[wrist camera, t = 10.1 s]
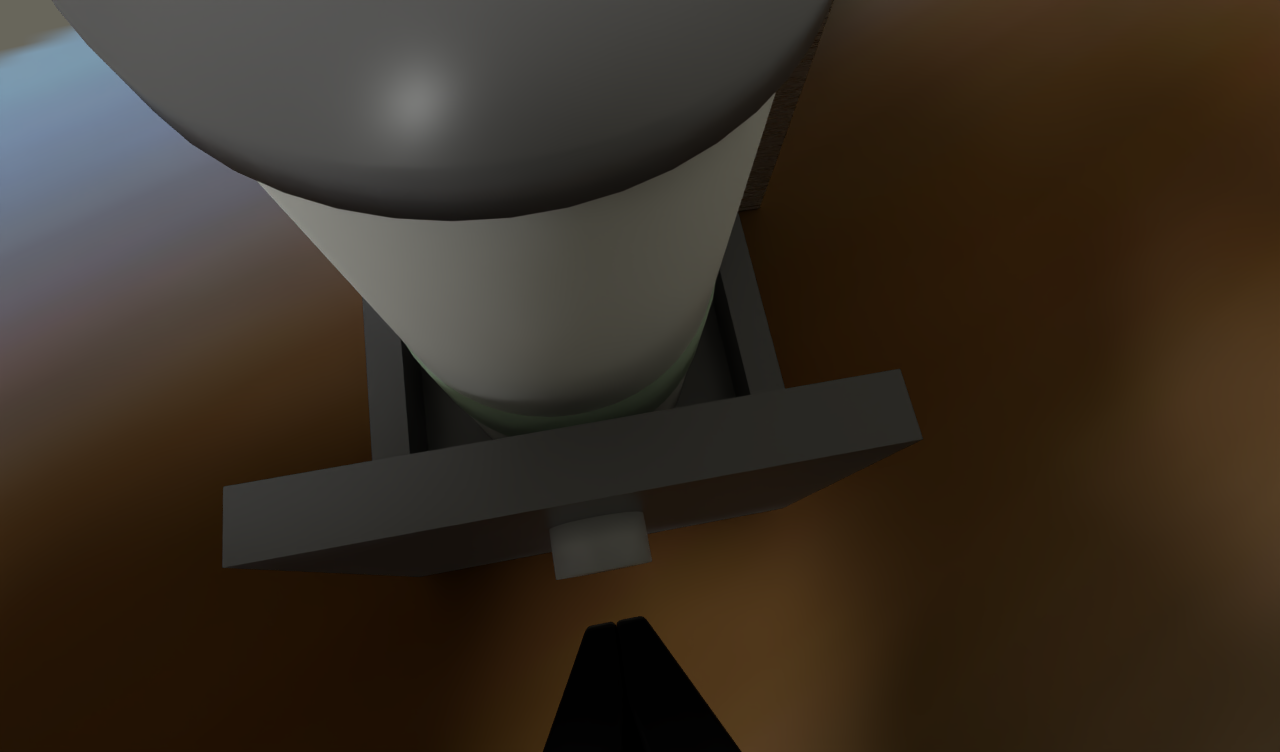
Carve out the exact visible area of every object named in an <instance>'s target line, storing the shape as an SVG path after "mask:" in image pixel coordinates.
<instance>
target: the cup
mask: <svg viewBox="0 0 1280 752" xmlns="http://www.w3.org/2000/svg"><path fill="white" fill-rule="evenodd" d="M52 1H53V3H54V4H55V6H56V8H57V9H58V10H59V11H60V12H61V14H62V15H63V16H64V17H65V18H66V20H67V21H68V22H69V23H70V24H71V26H72V27H73V28H74V29H75V30H76V32H77V33H78V34H79V35H80V36H81V38H82V39H83V40H84V41H85V42H86V44H87V45H88V46H89V47H90V48H91V49H92V50H93V51H94V52H95V53H96V54H97V55H98V56H99V57H100V58H101V59H102V60H103V61H104V62H105V63H106V64H107V65H108V66H109V67H110V68H111V69H112V70H113V71H114V72H115V73H116V74H117V75H118V76H119V77H120V78H121V79H122V80H123V81H124V82H125V83H126V84H127V85H128V86H129V87H130V88H131V89H132V90H133V91H134V92H135V93H136V94H137V95H138V96H139V97H140V98H141V99H142V100H143V101H144V102H145V103H146V104H147V105H148V106H149V107H150V108H151V109H152V110H153V111H154V112H155V113H156V114H157V115H158V116H160V117H161V118H162V119H163V120H164V121H165V122H167V123H168V124H169V125H170V126H171V127H172V128H173V129H175V130H176V131H177V132H178V133H179V134H180V135H182V136H183V137H184V138H185V139H186V140H187V141H189V142H190V143H191V144H192V145H194V146H196V147H197V148H199V149H200V150H202V151H204V152H205V153H207V154H208V155H210V156H212V157H213V158H215V159H216V160H218V161H220V162H221V163H223V164H224V165H226V166H228V167H229V168H231V169H232V170H234V171H236V172H238V173H241V174H243V175H245V176H247V177H249V178H252V179H254V180H256V181H257V182H258V183H259V184H260V185H261V186H262V187H263V188H264V189H265V190H266V191H267V193H268V194H269V195H270V196H271V197H272V198H273V199H274V200H275V201H276V202H277V204H278V205H279V206H280V207H281V208H282V209H283V210H284V211H285V212H286V213H287V215H288V216H289V217H290V218H291V219H292V220H293V221H294V222H295V223H296V224H297V226H298V227H299V228H300V229H301V230H302V231H303V232H304V233H305V234H306V235H307V236H308V238H309V239H310V240H311V241H312V242H313V243H314V244H315V245H316V246H317V247H318V249H319V250H320V251H321V252H322V253H323V254H324V255H325V256H326V257H327V258H328V260H329V261H330V262H331V263H332V264H333V265H334V266H335V267H336V268H337V269H338V270H339V272H340V273H341V274H342V275H343V276H344V277H345V278H346V279H347V280H348V281H349V283H350V284H351V285H352V286H353V287H354V288H355V289H356V290H357V291H358V292H359V294H360V295H361V296H362V297H363V298H364V299H365V300H366V301H367V302H368V303H369V305H370V306H371V307H372V308H373V309H374V310H375V311H376V312H377V313H378V314H379V315H380V317H381V318H382V319H383V320H384V321H385V322H386V323H387V324H388V325H389V326H390V328H391V329H392V330H393V331H394V332H395V333H396V334H397V335H398V336H399V337H400V339H401V340H402V341H403V342H404V343H405V344H406V346H407V347H408V349H409V350H410V352H411V354H412V355H413V357H414V358H415V359H416V360H417V361H418V362H419V364H420V365H421V366H422V367H423V368H424V369H425V371H426V372H427V373H428V374H429V375H430V376H431V377H432V378H433V379H434V380H435V381H436V382H437V384H438V385H439V386H440V387H441V388H442V389H443V390H444V391H445V392H446V393H447V394H448V395H449V396H450V397H451V399H452V400H453V401H454V402H455V403H456V404H457V405H458V406H459V407H461V408H462V409H463V410H464V411H465V412H466V413H467V414H469V415H470V416H471V417H472V418H473V419H474V420H475V421H476V422H477V423H478V424H479V425H480V426H481V427H482V428H483V430H484V431H485V432H486V433H487V434H488V435H489V436H490V437H491V438H492V439H493V440H494V439H500V438H506V437H511V436H517V435H523V434H529V433H534V432H540V431H546V430H552V429H557V428H563V427H569V426H574V425H580V424H586V423H592V422H597V421H603V420H609V419H615V418H620V417H626V416H632V415H638V414H643V413H649V412H655V411H661V410H666V409H672V408H674V406H675V404H676V402H677V400H678V397H679V394H680V391H681V388H682V385H683V382H684V379H685V375H686V372H687V371H688V368H689V366H690V364H691V362H692V360H693V358H694V355H695V352H696V349H697V346H698V343H699V340H700V337H701V334H702V331H703V328H704V325H705V322H706V319H707V316H708V313H709V309H710V306H711V303H712V300H713V295H714V288H715V282H716V278H717V275H718V272H719V269H720V266H721V263H722V259H723V256H724V253H725V250H726V247H727V244H728V241H729V237H730V234H731V231H732V228H733V225H734V222H735V219H736V215H737V212H738V209H739V206H740V203H741V200H742V197H743V194H744V190H745V187H746V184H747V181H748V178H749V175H750V172H751V168H752V165H753V162H754V159H755V156H756V153H757V150H758V147H759V143H760V140H761V137H762V134H763V131H764V128H765V125H766V121H767V118H768V115H769V112H770V109H771V106H772V103H773V99H774V96H775V93H776V91H777V90H778V89H779V88H780V87H781V86H782V85H783V84H784V83H785V82H786V81H787V80H788V78H789V77H790V75H791V74H792V73H793V71H794V70H795V68H796V67H797V65H798V64H799V63H800V61H801V60H802V58H803V57H804V55H805V54H806V53H807V51H808V50H809V48H810V47H811V45H812V44H813V42H814V40H815V38H816V36H817V34H818V32H819V29H820V27H821V25H822V23H823V21H824V19H825V17H826V15H827V13H828V11H829V9H830V6H831V4H832V1H833V0H52Z"/></svg>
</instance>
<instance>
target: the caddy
mask: <svg viewBox="0 0 1280 752" xmlns="http://www.w3.org/2000/svg"><path fill="white" fill-rule="evenodd" d="M833 2H834V0H833V1H832V4H831V6H830V9H829V11H828V13H827V15H826V17H825V19H824V21H823V23H822V25H821V27H820V29H819V32H818V34H817V36H816V38H815V40H814V42H813V44H812V45H811V47H810V48H809V50H808V51H807V53H806V54H805V55H804V57H803V58H802V60H801V61H800V63H799V64H798V65H797V67H796V68H795V70H794V71H793V73H792V74H791V75H790V77H789V78H788V80H787V81H786V82H785V83H784V84H783V85H782V86H781V87H780V88H779V89H778V90H777V91H776V93H775V96H774V99H773V103H772V106H771V109H770V112H769V115H768V118H767V121H766V125H765V128H764V131H763V134H762V137H761V140H760V143H759V147H758V150H757V153H756V156H755V159H754V162H753V165H752V168H751V172H750V175H749V178H748V181H747V184H746V187H745V190H744V194H743V197H742V200H741V203H740V206H739V209H738V211H743V210H750V209H756V208H760V205H761V203H762V200H763V197H764V194H765V191H766V189H767V186H768V183H769V180H770V178H771V175H772V172H773V169H774V166H775V164H776V161H777V158H778V155H779V152H780V150H781V147H782V144H783V141H784V138H785V136H786V133H787V130H788V127H789V125H790V122H791V119H792V116H793V113H794V111H795V108H796V105H797V102H798V99H799V97H800V94H801V91H802V88H803V85H804V83H805V80H806V77H807V74H808V72H809V69H810V66H811V63H812V60H813V58H814V55H815V52H816V49H817V46H818V44H819V41H820V38H821V35H822V32H823V30H824V27H825V24H826V21H827V19H828V16H829V13H830V10H831V7H832V5H833Z"/></svg>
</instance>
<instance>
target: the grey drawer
mask: <svg viewBox="0 0 1280 752" xmlns="http://www.w3.org/2000/svg"><path fill="white" fill-rule="evenodd" d="M362 299H363V315H364V332H365V349H366V365H367V382H368V398H369V415H370V432H371V448H372V461H368V462H362V463H356V464H351V465H345V466H339V467H334V468H328V469H322V470H316V471H311V472H305V473H299V474H293V475H288V476H282V477H276V478H270V479H265V480H259V481H253V482H247V483H242V484H236V485H230V486H225V487H223V556H222V568H238V569H259V570H281V571H302V572H324V573H345V574H367V575H388V576H410V577H422V576H427V575H432V574H438V573H443V572H448V571H454V570H459V569H464V568H469V567H475V566H480V565H485V564H491V563H496V562H501V561H506V560H512V559H517V558H522V557H528V556H533V555H538V554H543V553H549V552H552V554H553V562H554V569H555V576H556V580H558V579H566V578H572V577H578V576H584V575H589V574H595V573H600V572H605V571H610V570H615V569H620V568H625V567H630V566H635V565H639V564H644V563H648V562H651V561H652V558H651V552H650V547H649V542H648V536H647V534H649V533H654V532H660V531H665V530H670V529H675V528H681V527H686V526H691V525H697V524H702V523H707V522H712V521H718V520H723V519H728V518H734V517H739V516H744V515H749V514H755V513H760V512H765V511H771V510H776V509H781V508H784V507H786V506H788V505H790V504H792V503H794V502H796V501H798V500H800V499H802V498H804V497H806V496H808V495H810V494H812V493H814V492H817V491H819V490H821V489H823V488H825V487H827V486H829V485H831V484H833V483H835V482H837V481H839V480H841V479H843V478H845V477H847V476H849V475H851V474H853V473H855V472H857V471H859V470H861V469H863V468H865V467H867V466H869V465H871V464H873V463H875V462H877V461H879V460H881V459H883V458H885V457H888V456H890V455H892V454H894V453H896V452H898V451H900V450H902V449H904V448H906V447H908V446H910V445H912V444H914V443H916V442H918V441H920V440H922V439H923V437H922V434H921V431H920V428H919V425H918V422H917V419H916V416H915V413H914V410H913V407H912V404H911V401H910V397H909V394H908V391H907V388H906V385H905V382H904V379H903V376H902V373H901V370H900V369H896V370H890V371H884V372H879V373H873V374H867V375H861V376H856V377H850V378H844V379H838V380H833V381H827V382H821V383H815V384H810V385H804V386H798V387H793V388H787V389H785V387H784V383H783V379H782V376H781V372H780V368H779V364H778V360H777V357H776V353H775V349H774V345H773V342H772V338H771V334H770V330H769V327H768V323H767V319H766V315H765V311H764V308H763V304H762V300H761V296H760V293H759V289H758V285H757V281H756V277H755V274H754V270H753V266H752V262H751V259H750V255H749V251H748V247H747V244H746V240H745V236H744V232H743V228H742V225H741V221H740V217H739V213H738V212H737V215H736V219H735V222H734V225H733V228H732V231H731V234H730V237H729V241H728V244H727V247H726V250H725V253H724V256H723V259H722V263H721V266H720V269H719V272H718V275H717V278H716V282H715V288H714V295H713V300H712V303H711V306H710V309H709V313H708V316H707V319H706V322H705V325H704V328H703V331H702V334H701V337H700V340H699V343H698V346H697V349H696V352H695V355H694V358H693V360H692V362H691V364H690V366H689V368H688V371H687V372H686V375H685V379H684V382H683V385H682V388H681V391H680V394H679V397H678V400H677V402H676V404H675V406H674V408H672V409H666V410H661V411H655V412H649V413H643V414H638V415H632V416H626V417H620V418H615V419H609V420H603V421H597V422H592V423H586V424H580V425H574V426H569V427H563V428H557V429H552V430H546V431H540V432H534V433H529V434H523V435H517V436H511V437H506V438H500V439H494V440H493V439H492V438H491V437H490V436H489V435H488V434H487V433H486V432H485V431H484V430H483V428H482V427H481V426H480V425H479V424H478V423H477V422H476V421H475V420H474V419H473V418H472V417H471V416H470V415H469V414H467V413H466V412H465V411H464V410H463V409H462V408H461V407H459V406H458V405H457V404H456V403H455V402H454V401H453V400H452V399H451V397H450V396H449V395H448V394H447V393H446V392H445V391H444V390H443V389H442V388H441V387H440V386H439V385H438V384H437V382H436V381H435V380H434V379H433V378H432V377H431V376H430V375H429V374H428V373H427V372H426V371H425V369H424V368H423V367H422V366H421V365H420V364H419V362H418V361H417V360H416V359H415V358H414V357H413V355H412V354H411V352H410V350H409V349H408V347H407V346H406V344H405V343H404V342H403V341H402V340H401V339H400V337H399V336H398V335H397V334H396V333H395V332H394V331H393V330H392V329H391V328H390V326H389V325H388V324H387V323H386V322H385V321H384V320H383V319H382V318H381V317H380V315H379V314H378V313H377V312H376V311H375V310H374V309H373V308H372V307H371V306H370V305H369V303H368V302H367V301H366V300H365V299H364V298H363V297H362Z"/></svg>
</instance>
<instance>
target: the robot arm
mask: <svg viewBox="0 0 1280 752" xmlns="http://www.w3.org/2000/svg"><path fill="white" fill-rule="evenodd" d="M616 627H617V628H616ZM543 752H741V750H740V749H739V747H738V746H737V745H736V743H735V742H734V741H733V739H732V738H731V736H730V735H729V734H728V732H727V731H726V729H725V728H724V727H723V725H722V724H721V722H720V721H719V720H718V718H717V717H716V715H715V714H714V713H713V711H712V710H711V708H710V707H709V706H708V704H707V703H706V702H705V700H704V699H703V697H702V696H701V695H700V693H699V692H698V690H697V689H696V688H695V686H694V685H693V683H692V682H691V681H690V679H689V678H688V676H687V675H686V674H685V672H684V671H683V669H682V668H681V667H680V665H679V664H678V663H677V661H676V660H675V658H674V657H673V656H672V654H671V653H670V651H669V650H668V649H667V647H666V646H665V644H664V643H663V642H662V640H661V639H660V637H659V636H658V635H657V633H656V632H655V631H654V629H653V628H652V626H651V625H650V624H649V622H648V621H647V620H646V619H645V618H644V617H642V616H638V617H633V618H628V619H623V620H620V621H618V622H617V626H616V625H615V624H614V623H613V622H608V623H603V624H597V625H592V626H589V627H588V628H587V629H586V631H585V633H584V636H583V639H582V642H581V645H580V648H579V650H578V653H577V656H576V659H575V662H574V665H573V667H572V670H571V673H570V676H569V679H568V682H567V684H566V687H565V690H564V693H563V696H562V699H561V702H560V704H559V707H558V710H557V713H556V716H555V719H554V721H553V724H552V727H551V730H550V733H549V736H548V738H547V741H546V744H545V747H544V750H543Z"/></svg>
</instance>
